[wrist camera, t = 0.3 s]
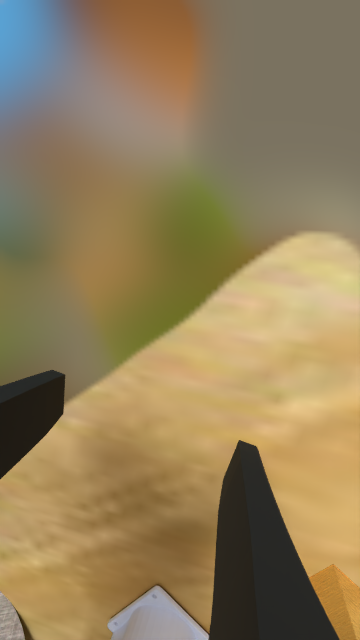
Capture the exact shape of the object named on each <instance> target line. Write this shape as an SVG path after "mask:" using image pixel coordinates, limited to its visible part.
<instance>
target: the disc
mask: <svg viewBox="0 0 360 640" xmlns="http://www.w3.org/2000/svg"><path fill="white" fill-rule="evenodd" d="M0 640H25V637H24V632H23V628H22V625H21V622H20V619H19V617H18V614H17V612H16V610H15V608H14V607H13V605H12V604H11V602H10V601H9V600H8V599H7V598H6V597H5V596H4V595H3V594H2V593H1V592H0Z"/></svg>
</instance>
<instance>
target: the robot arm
mask: <svg viewBox="0 0 360 640" xmlns="http://www.w3.org/2000/svg"><path fill="white" fill-rule="evenodd" d="M64 388H65V375H64V374H62V373H59V372H57V371H54V370H50V371H46V372H43V373H40V374H37V375H34V376H30V377H27V378H24V379H21V380H18V381H15V382H12V383H9V384H6V385H3V386H0V479H1V478H2V477H3V476H4V475H5V474H6V473H7V472H8V471H9V470H10V469H12V468H13V467H14V466H15V465H16V464H17V463H18V462H19V461H20V460H21V459H22V458H23V457H24V456H25V455H26V454H27V453H28V452H29V451H30V450H31V449H32V448H33V447H34V446H35V445H36V444H37V443H38V442H39V441H40V440H41V439H42V438H43V437H44V436H45V435H46V434H47V433H48V432H49V431H50V429H51V428H52V427H53V426H54V425H55V423H56V422H57V421H58V420H59V418H60V417H61V416H62V415H63V409H64ZM108 628H109V629H110V630H111V631H112V633H113V635H112V638H111V640H340V639H339V637H338V635H337V633H336V631H335V629H334V628H333V626H332V624H331V622H330V620H329V618H328V616H327V614H326V612H325V610H324V608H323V606H322V604H321V602H320V600H319V598H318V596H317V594H316V592H315V590H314V588H313V586H312V584H311V582H310V580H309V577H308V575H307V573H306V571H305V569H304V567H303V565H302V562H301V560H300V558H299V556H298V553H297V551H296V549H295V547H294V544H293V542H292V540H291V538H290V535H289V533H288V530H287V528H286V526H285V523H284V521H283V518H282V516H281V513H280V511H279V508H278V505H277V503H276V500H275V498H274V495H273V492H272V490H271V487H270V484H269V481H268V478H267V476H266V473H265V470H264V467H263V464H262V461H261V457H260V454H259V451H258V449H257V447H256V446H254V445H251V444H249V443H246V442H243V441H241V440H239V442H238V444H237V447H236V449H235V452H234V454H233V456H232V459H231V461H230V464H229V466H228V469H227V471H226V474H225V476H224V479H223V485H222V491H221V497H220V504H219V510H218V525H217V541H216V558H215V575H214V592H213V605H212V616H211V625H210V633H209V635H208V634H207V633H206V632H205V631H204V630H203V629H202V628H201V627H200V626H199V625H198V624H197V623H196V622H195V621H194V620H193V619H192V618H191V617H190V616H189V615H188V614H187V613H186V612H185V611H184V610H183V609H182V608H181V607H180V606H179V605H178V604H177V603H176V602H175V601H174V600H173V599H172V598H171V597H170V596H169V595H168V594H167V593H166V592H165V591H164V590H163V589H162V588H161V587H160V586H154V587H153V588H152V589H150V590H149V591H148V592H146V593H145V594H144V595H142V596H141V597H140V598H138V599H137V600H136V601H134V602H133V603H131V604H130V605H129V606H127V607H126V608H125V609H123V610H122V611H121V612H119V613H118V614H117V615H115V616H114V617H113V618H111V619H110V620H109V622H108Z"/></svg>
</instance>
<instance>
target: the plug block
mask: <svg viewBox="0 0 360 640" xmlns="http://www.w3.org/2000/svg"><path fill="white" fill-rule="evenodd" d="M309 580H310V582H311V584H312V586H313V588H314V590H315V592H316V594H317V596H318V598H319V600H320V602H321V604H322V606H323V608H324V610H325V612H326V614H327V616H328V618H329V620H330V622H331V624H332V626H333V628H334V629H335V631H336V633H337V635H338V637H339V639H340V640H360V588H359V587H358V586H357V585H356V584H355V583H353V582H352V581H351V580H350V579H349V578H348V577H347V576H346V575H345V574H344V573H343V572H341V571H340V570H339V569H338V568H337V567H336V566H335V565H334V564H332V565H331V566H329V567H327V568H325V569H324V570H322V571H320V572H319V573H317V574H315V575H313V576H312V577H310V578H309Z"/></svg>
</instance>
